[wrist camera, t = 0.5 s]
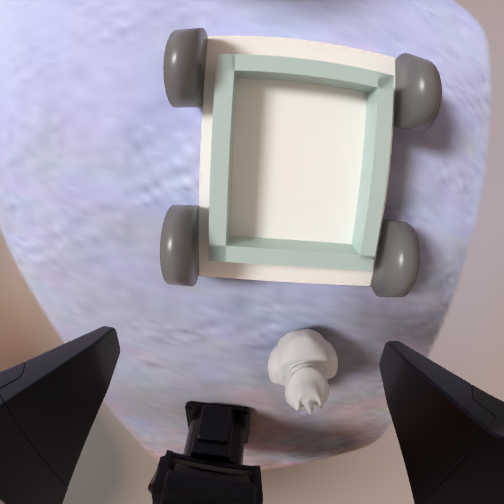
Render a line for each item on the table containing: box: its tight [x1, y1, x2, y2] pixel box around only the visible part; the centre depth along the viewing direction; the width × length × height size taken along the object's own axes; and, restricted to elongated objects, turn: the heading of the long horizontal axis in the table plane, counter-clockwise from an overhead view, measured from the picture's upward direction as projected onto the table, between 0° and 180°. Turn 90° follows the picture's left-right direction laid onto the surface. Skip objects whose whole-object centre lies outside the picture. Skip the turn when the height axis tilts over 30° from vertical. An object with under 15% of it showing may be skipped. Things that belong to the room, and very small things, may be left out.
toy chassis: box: [160, 28, 442, 297], centre depth 16 cm, size 16×15×5 cm
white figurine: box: [268, 329, 338, 415], centre depth 20 cm, size 5×7×8 cm
